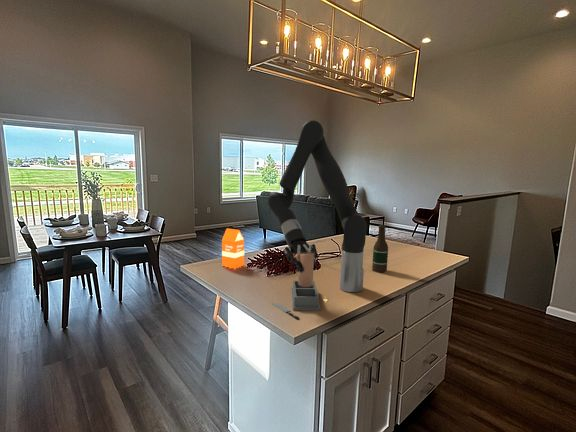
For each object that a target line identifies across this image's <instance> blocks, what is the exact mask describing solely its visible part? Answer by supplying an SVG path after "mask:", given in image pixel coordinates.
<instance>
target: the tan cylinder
mask: <svg viewBox="0 0 576 432" xmlns="http://www.w3.org/2000/svg"><path fill="white" fill-rule="evenodd" d="M300 261H301V263H302V266H303V268H304V271H303V272H301V273H300V271H298V280H297V281H298V284H299V285H300V286H303V287H310V286H312V285H313V281H314V270H313V269H314V253H312V252H300Z"/></svg>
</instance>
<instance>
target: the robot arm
mask: <svg viewBox="0 0 576 432" xmlns="http://www.w3.org/2000/svg"><path fill="white" fill-rule="evenodd" d="M310 155H312V158H313V159H314V160H313V161H314V164H315V166H316V170H317V173H318V175H319V178H320V181H321V182H322V185H323V187H324V189H325V190H326V191H325V192H327V195H328V197H329V198H330V199H331V202H332V203H333V205H334V206H335V209H336V211H337V213H338V217H339V220H340V222H341V227H342V229H343V238H342V239H343V240H342V243H341V255H340V256H341V259H340V278H339V281H340V282H339V289H340V290H341V291H343V292H347V293H358V292H363V291H364V289H363V288H364V274H365V273H364V272H365V270H364V268H363V264H364V250H365V249H364V248H365V245H366V238H367V236H366V235H367V222H366V219H365V218H364V217H363V216H361V215H360V214H359V212H358V210H357V209H356V208H355V205H354V204H353V201H352V198H351V195H350V190H349V187H348V183H347V180H346V178H345V175H344V173H343V171H342V169H341V167H340V166H339V164H338V162H337V160H336V159H335V157H334V156H333V154H332V153H331V151H330V149H329V146H328V144H327V141H326V139H325V136H324V127H323V126H322V124H321V123H320V122H319V121H318V120H308V121H306V122H305V123H304V124H303V125H302V127H301V130H300V135H299V139H298V141H297V145H296V148H295V150H294V153H293V154H292V156H291V159H290V161H289V162H288V164H287V166H286V168H285V170H284V172H283V175H282V177H281V178H280V181H279V186H280V187H281V188H282V193H281V192H279V191H273V192H271V193H270V194H269V195H268V197H267V204H268V207H269V209H270V210H271V212H272V213H273V215H274V216H275V217H276V218H277V220H278V223H279V225H280V228H281V230H282V233H283V237H284V239H285V241H286V245H287V246H286V247H285V248H284V250H283V251H282V252H283V253H284V255H285V257H286V259H287V260H288V262H289V263H290V264H294V265H295V266H296V269H297V271H298V272H299V271H300V273H301V272H303V271H304V268H303V266H302V263H301V261H300V252H312V253H314V269H313V271H316V270H317V269H318V264H317V261H316V259H317V258H318V257H319V256H318V255H319V254H318V251H317V248H316V245H315V243H313V244H309V243H308V242H307V239H306V238H307V237H306V236H305V235H304V231H303V229H302V226H301V225H300V223H299V221H298V219H297V217H296V215H295V213H294V211H293V210H292V209H291V206H292V204H293V200H294V196H295V191H296V190H295V189H296V187H297V185H298V183H299V182H300V179H301V177H302V174H303V172H304V169H305V166H306V164H307V162H308V159H309V157H310Z"/></svg>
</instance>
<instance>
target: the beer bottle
mask: <svg viewBox="0 0 576 432" xmlns="http://www.w3.org/2000/svg"><path fill="white" fill-rule="evenodd" d="M386 228H387V227H386V225H385V224H383V225H382V224H380V225H378V234H377V240H376V241H375V242H374V245H373V250H372V264H371V269H372V271H373V272H374V273H379V274H384V273H386V272H387V269H388V257H389V256H388V255H389V246H388V245H389V244H388V242H387V241H386Z"/></svg>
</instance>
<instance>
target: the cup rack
mask: <svg viewBox="0 0 576 432" xmlns="http://www.w3.org/2000/svg"><path fill="white" fill-rule="evenodd" d="M298 281H299V280H292V287H291V297H292V298H291V301H292V310H293V311H317V312H318V311H321V305H320V296H319V292H318V289H317V286H316V283H315V280H313V285H312V286H310V287H303V286H300V285H299V284H298Z"/></svg>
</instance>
